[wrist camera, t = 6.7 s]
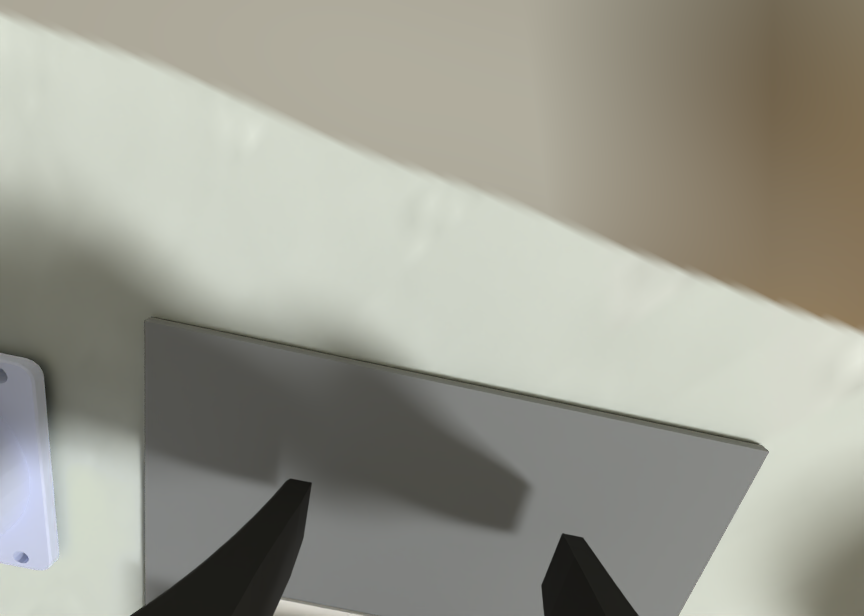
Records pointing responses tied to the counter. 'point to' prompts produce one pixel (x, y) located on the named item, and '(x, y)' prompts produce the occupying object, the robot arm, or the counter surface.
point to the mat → (419, 481)
